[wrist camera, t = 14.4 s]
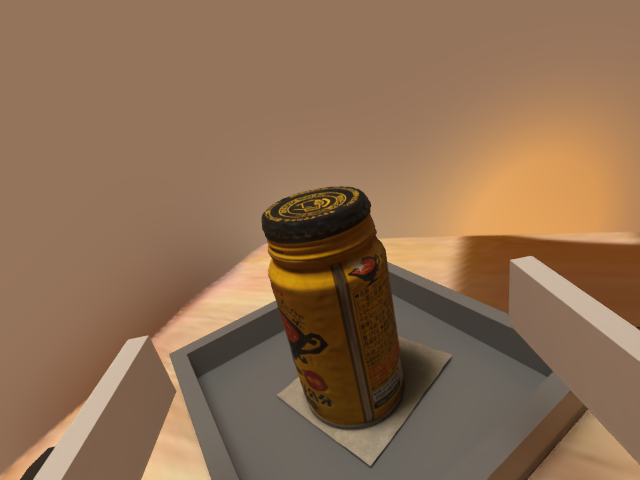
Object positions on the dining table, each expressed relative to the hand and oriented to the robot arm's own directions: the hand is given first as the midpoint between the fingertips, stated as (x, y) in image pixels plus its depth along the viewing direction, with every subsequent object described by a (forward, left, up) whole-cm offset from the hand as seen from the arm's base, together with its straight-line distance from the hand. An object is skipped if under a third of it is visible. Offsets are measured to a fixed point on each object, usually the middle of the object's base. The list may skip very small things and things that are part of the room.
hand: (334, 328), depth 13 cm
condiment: (-4, -5, -9) cm, 11 cm away
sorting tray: (-3, -5, -10) cm, 11 cm away
